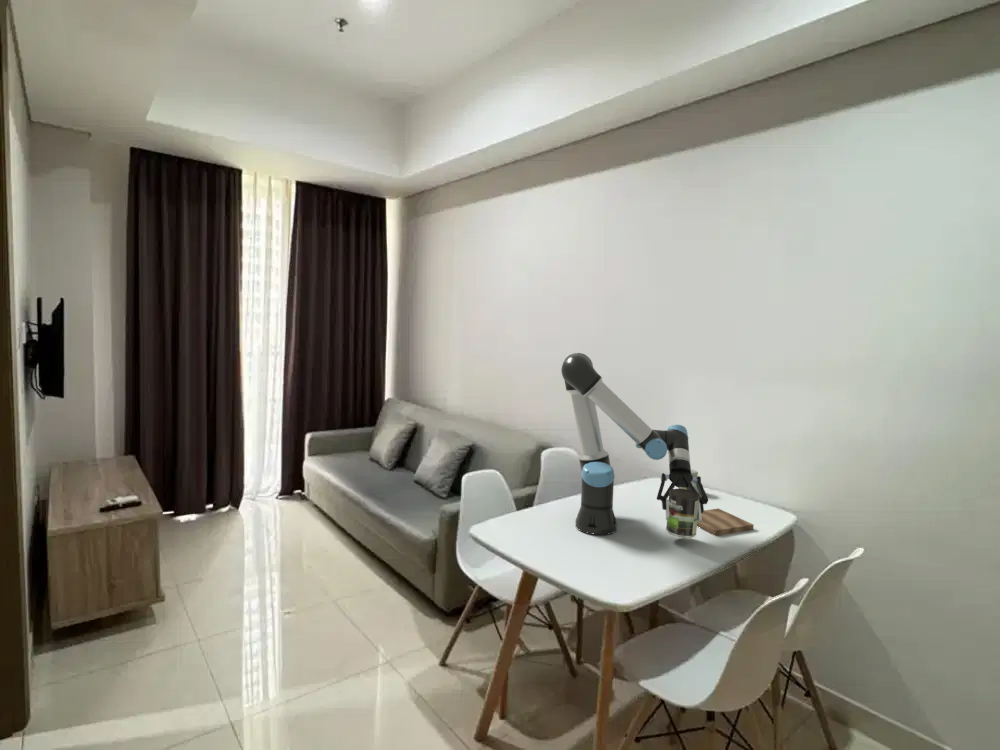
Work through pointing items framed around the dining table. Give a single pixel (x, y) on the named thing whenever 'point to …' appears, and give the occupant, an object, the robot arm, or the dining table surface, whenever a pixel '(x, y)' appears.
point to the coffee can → (683, 513)
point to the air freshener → (694, 474)
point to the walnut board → (722, 522)
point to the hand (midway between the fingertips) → (683, 519)
